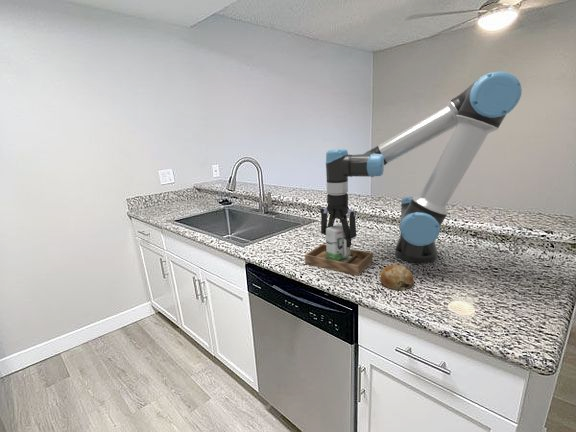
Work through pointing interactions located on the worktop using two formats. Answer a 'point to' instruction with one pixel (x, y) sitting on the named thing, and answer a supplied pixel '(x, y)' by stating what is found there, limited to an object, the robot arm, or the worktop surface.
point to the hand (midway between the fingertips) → (338, 253)
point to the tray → (347, 265)
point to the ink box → (335, 242)
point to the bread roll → (396, 277)
